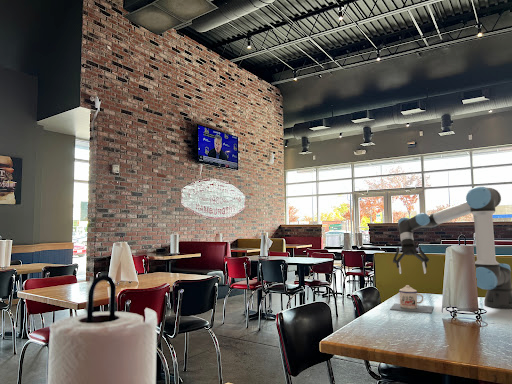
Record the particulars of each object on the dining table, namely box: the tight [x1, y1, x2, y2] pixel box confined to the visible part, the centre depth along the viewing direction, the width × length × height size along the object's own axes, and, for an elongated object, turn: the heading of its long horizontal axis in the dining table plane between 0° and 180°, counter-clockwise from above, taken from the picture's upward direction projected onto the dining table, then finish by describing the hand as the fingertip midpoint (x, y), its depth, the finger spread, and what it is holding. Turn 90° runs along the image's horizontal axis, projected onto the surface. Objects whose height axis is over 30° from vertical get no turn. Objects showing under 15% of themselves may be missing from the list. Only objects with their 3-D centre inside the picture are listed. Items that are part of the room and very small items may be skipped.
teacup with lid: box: [398, 284, 424, 309], centre depth 207 cm, size 12×9×12 cm
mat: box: [389, 302, 434, 314], centre depth 206 cm, size 20×16×1 cm
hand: (412, 272), depth 225 cm, fingers open, 13 cm apart
